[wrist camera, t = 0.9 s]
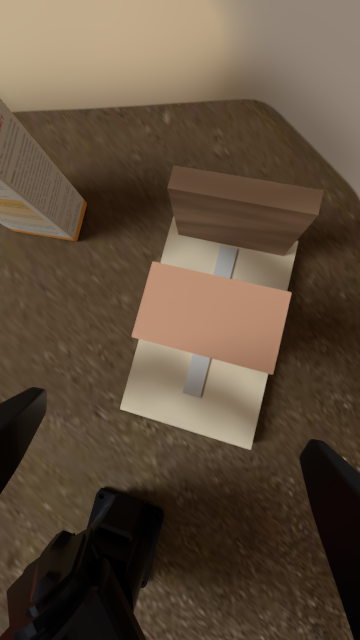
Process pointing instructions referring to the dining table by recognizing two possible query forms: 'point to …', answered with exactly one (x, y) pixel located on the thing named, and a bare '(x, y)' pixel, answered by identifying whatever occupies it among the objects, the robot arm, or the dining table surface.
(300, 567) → the dining table surface
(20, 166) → the supplement box
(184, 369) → the track
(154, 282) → the tan rectangular block
